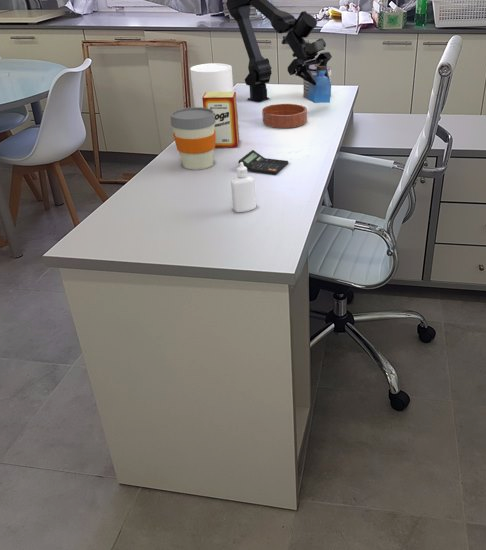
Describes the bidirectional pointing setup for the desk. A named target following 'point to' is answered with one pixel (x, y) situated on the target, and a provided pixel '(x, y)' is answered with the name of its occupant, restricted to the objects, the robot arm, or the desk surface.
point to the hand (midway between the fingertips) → (322, 82)
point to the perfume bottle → (320, 87)
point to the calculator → (262, 163)
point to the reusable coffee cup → (194, 136)
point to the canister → (210, 80)
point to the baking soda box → (223, 117)
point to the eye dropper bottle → (243, 190)
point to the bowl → (284, 115)
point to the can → (313, 71)
